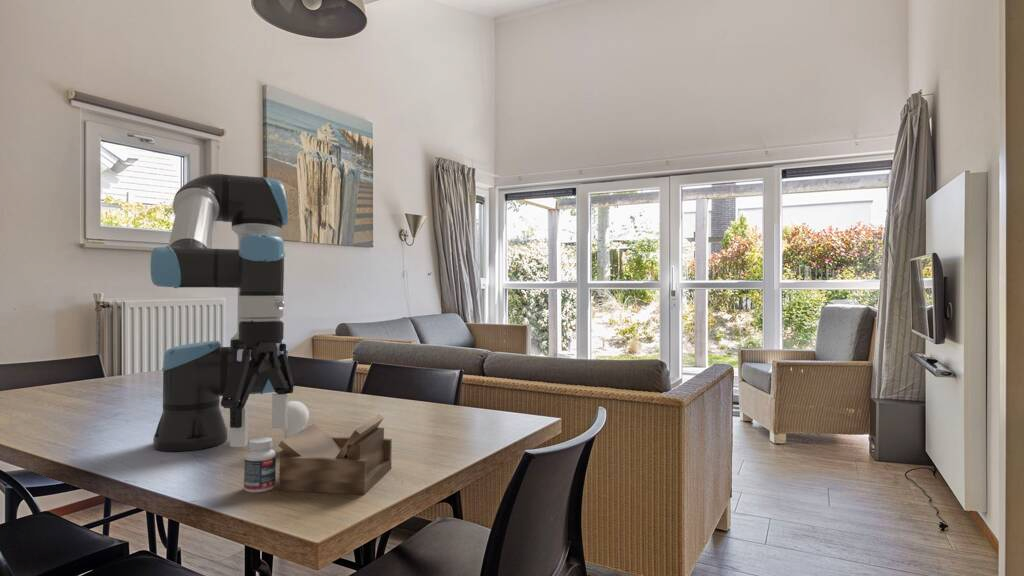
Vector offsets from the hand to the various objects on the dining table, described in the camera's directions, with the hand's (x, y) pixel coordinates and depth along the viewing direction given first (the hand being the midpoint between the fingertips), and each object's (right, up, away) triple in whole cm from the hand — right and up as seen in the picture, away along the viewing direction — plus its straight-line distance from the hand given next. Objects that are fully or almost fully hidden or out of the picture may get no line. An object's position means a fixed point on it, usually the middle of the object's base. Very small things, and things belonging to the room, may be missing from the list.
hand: (260, 436), depth 105 cm
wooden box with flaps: (+12, -10, +6) cm, 17 cm away
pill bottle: (0, -10, 0) cm, 10 cm away
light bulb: (-4, -10, +25) cm, 27 cm away
